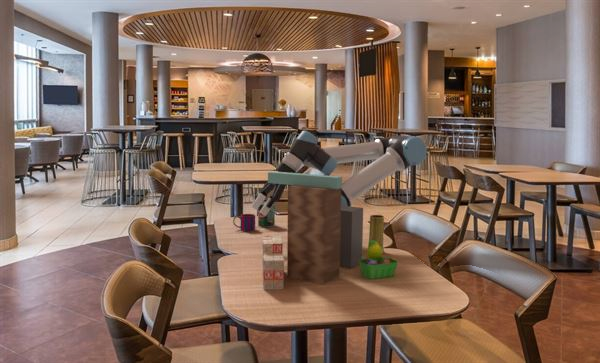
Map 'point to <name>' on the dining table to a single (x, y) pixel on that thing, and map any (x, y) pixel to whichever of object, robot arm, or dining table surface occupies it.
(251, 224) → the mug
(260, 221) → the canned tomato
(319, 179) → the bar
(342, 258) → the step
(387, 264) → the fruit basket
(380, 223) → the vase
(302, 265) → the stand
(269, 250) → the stack of blocks
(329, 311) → the dining table surface
